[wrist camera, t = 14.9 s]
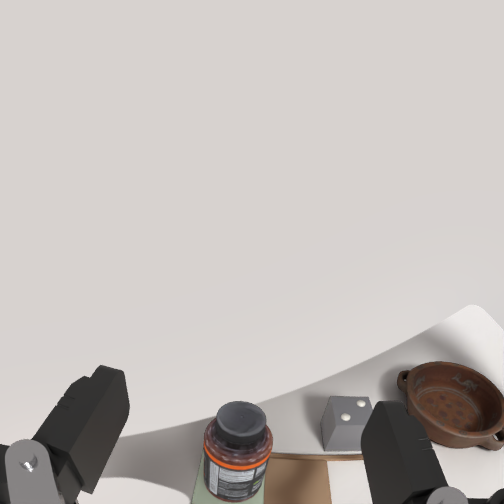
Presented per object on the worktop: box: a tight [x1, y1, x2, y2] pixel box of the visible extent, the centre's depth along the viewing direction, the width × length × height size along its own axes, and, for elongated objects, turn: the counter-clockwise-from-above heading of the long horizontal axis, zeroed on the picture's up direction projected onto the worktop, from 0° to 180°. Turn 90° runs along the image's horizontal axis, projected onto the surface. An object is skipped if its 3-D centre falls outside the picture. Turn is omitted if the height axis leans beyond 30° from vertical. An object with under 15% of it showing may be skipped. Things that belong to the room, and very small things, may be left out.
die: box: [321, 396, 373, 451], centre depth 33 cm, size 5×5×5 cm
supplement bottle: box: [203, 401, 273, 503], centre depth 25 cm, size 6×6×11 cm
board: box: [191, 448, 363, 504], centre depth 26 cm, size 21×9×1 cm, turn 86°
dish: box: [397, 361, 504, 451], centre depth 35 cm, size 18×22×5 cm
